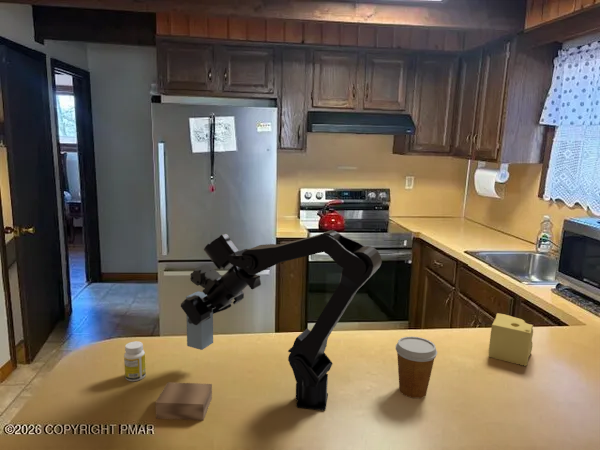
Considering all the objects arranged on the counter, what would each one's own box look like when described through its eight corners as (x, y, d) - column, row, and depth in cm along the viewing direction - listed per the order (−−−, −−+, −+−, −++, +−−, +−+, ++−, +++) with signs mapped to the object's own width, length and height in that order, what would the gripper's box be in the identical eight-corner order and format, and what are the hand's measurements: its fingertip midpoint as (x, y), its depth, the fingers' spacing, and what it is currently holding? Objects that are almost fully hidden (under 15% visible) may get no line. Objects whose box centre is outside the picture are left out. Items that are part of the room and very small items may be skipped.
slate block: (213, 342, 114) (212, 294, 112) (201, 350, 110) (201, 299, 108) (198, 339, 116) (197, 291, 114) (187, 346, 112) (186, 296, 110)
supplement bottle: (139, 369, 113) (137, 338, 111) (149, 376, 110) (148, 344, 108) (121, 377, 109) (119, 345, 108) (131, 384, 106) (130, 351, 105)
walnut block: (211, 400, 101) (211, 383, 101) (203, 421, 93) (203, 404, 93) (168, 398, 102) (167, 382, 101) (156, 419, 94) (155, 402, 93)
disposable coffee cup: (406, 376, 113) (409, 332, 111) (440, 392, 107) (445, 345, 105) (384, 390, 107) (387, 343, 105) (419, 407, 100) (424, 357, 98)
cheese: (531, 353, 129) (535, 320, 127) (527, 368, 120) (531, 333, 118) (492, 343, 134) (496, 312, 132) (486, 357, 125) (489, 323, 123)
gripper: (234, 249, 116) (200, 283, 122) (186, 266, 99) (150, 304, 106) (260, 283, 114) (224, 316, 120) (215, 306, 97) (177, 343, 104)
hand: (195, 318), depth 113 cm, fingers closed on slate block, 5 cm apart
